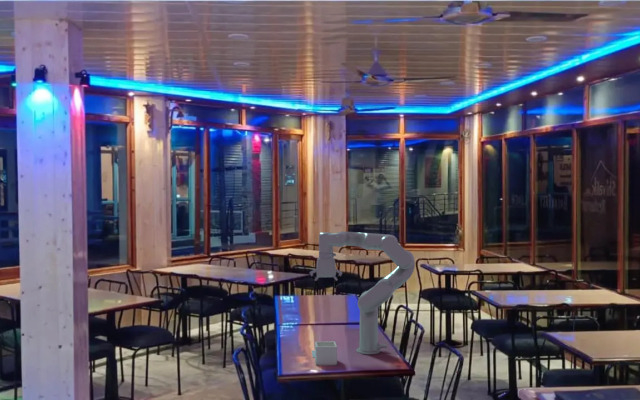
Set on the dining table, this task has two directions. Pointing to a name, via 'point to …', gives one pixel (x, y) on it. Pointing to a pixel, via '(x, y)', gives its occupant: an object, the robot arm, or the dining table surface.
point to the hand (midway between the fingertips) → (325, 287)
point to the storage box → (326, 353)
